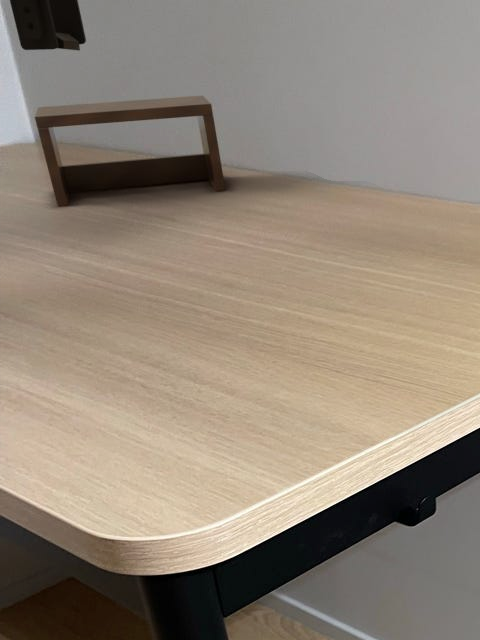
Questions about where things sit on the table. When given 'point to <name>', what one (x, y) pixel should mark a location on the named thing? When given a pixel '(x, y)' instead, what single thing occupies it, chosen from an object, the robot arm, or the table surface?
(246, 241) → the table surface
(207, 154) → the shelf
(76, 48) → the block
